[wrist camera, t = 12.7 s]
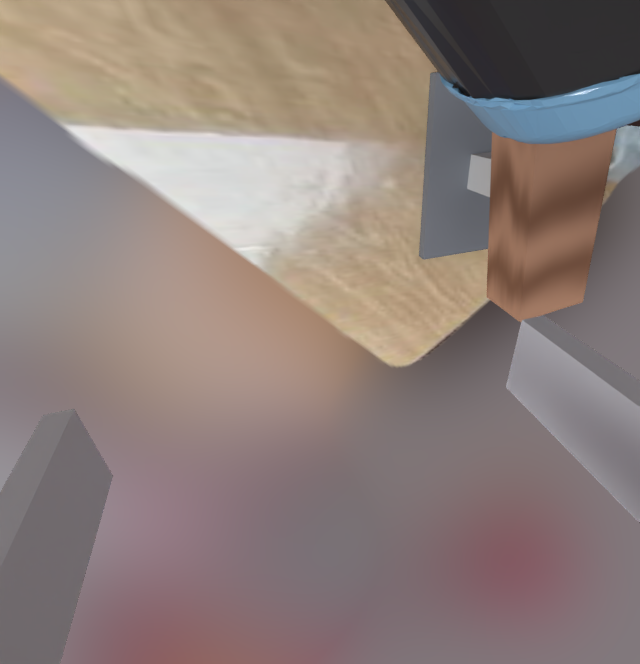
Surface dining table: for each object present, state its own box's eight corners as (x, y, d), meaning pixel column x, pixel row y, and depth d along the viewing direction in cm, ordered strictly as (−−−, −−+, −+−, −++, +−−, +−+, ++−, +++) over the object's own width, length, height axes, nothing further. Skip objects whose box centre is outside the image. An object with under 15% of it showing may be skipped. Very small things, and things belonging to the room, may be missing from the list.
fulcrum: (430, 73, 32) (469, 68, 27) (558, 61, 33) (618, 54, 28) (419, 256, 40) (447, 278, 35) (521, 239, 42) (562, 258, 37)
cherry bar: (494, 47, 26) (546, 38, 22) (574, 26, 27) (639, 13, 23) (486, 296, 37) (520, 322, 33) (542, 279, 38) (582, 302, 34)
